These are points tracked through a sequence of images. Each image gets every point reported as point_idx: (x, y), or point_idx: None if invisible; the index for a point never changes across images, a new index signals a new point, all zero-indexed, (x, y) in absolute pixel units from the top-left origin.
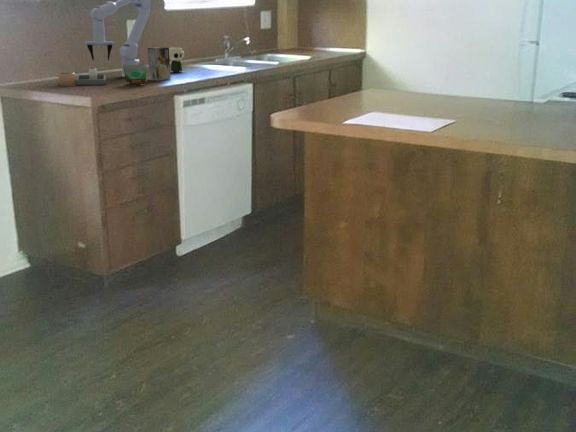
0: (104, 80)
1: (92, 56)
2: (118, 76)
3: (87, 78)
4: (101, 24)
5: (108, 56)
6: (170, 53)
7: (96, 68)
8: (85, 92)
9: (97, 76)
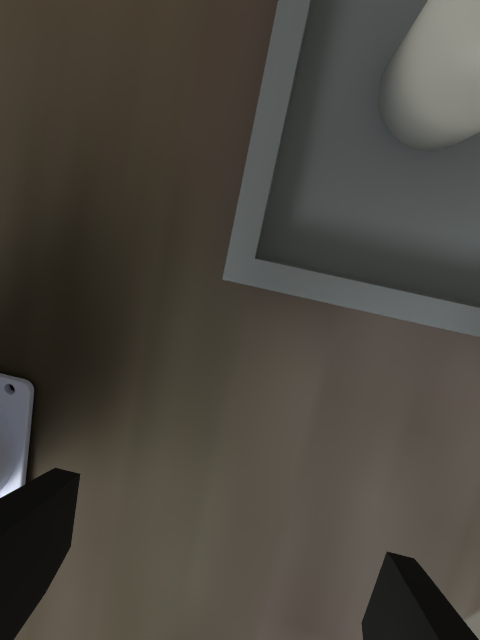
0: None
1: (454, 624)
2: None
3: (461, 299)
4: None
5: (12, 507)
6: None
7: (444, 17)
8: None
9: (338, 274)
